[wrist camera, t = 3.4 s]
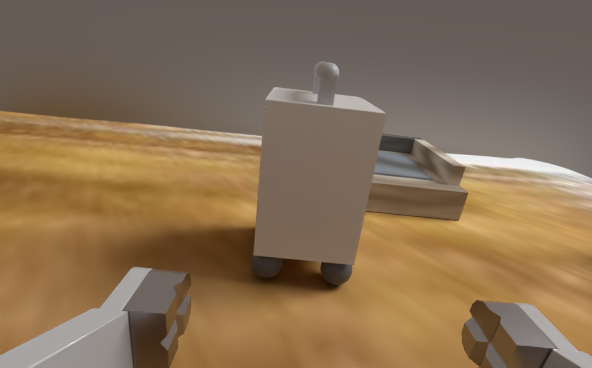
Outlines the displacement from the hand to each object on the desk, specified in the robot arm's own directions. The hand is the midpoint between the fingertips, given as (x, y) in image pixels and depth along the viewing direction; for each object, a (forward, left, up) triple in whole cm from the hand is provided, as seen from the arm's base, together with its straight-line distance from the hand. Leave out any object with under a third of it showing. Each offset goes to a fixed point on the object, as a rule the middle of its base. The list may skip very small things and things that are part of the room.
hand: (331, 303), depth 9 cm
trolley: (-11, +6, -7) cm, 14 cm away
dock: (-20, +22, -7) cm, 30 cm away
